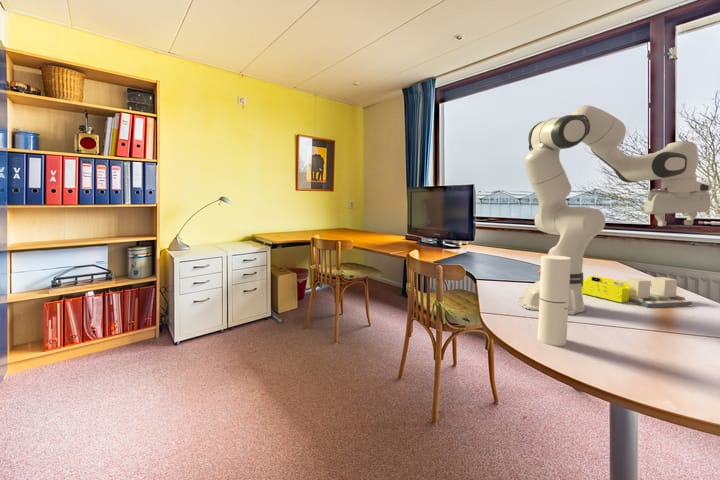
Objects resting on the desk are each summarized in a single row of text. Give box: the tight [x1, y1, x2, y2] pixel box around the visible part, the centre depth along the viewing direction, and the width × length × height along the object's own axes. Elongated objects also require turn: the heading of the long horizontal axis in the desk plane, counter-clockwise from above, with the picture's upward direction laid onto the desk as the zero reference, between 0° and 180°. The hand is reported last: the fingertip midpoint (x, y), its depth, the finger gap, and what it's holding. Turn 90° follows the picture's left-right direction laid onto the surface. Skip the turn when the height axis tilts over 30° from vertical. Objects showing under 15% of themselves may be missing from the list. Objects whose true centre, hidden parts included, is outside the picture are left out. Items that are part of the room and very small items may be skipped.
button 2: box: [650, 276, 678, 297], centre depth 123 cm, size 5×6×7 cm
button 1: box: [626, 277, 652, 298], centre depth 122 cm, size 5×6×7 cm
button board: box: [627, 292, 693, 309], centre depth 121 cm, size 18×13×2 cm
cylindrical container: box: [537, 254, 571, 347], centre depth 88 cm, size 7×7×25 cm
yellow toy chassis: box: [582, 275, 630, 303], centre depth 127 cm, size 16×6×8 cm, turn 22°
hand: (675, 225), depth 111 cm, fingers open, 8 cm apart
